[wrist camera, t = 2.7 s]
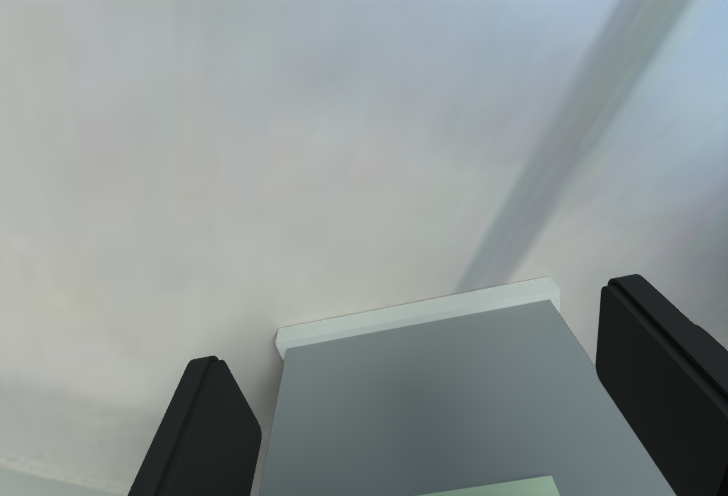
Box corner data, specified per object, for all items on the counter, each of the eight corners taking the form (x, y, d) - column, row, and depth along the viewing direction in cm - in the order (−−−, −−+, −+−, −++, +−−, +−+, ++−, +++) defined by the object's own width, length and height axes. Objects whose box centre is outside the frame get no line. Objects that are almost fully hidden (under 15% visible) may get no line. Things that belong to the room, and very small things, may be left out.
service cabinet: (550, 276, 22) (899, 751, 8) (550, 357, 25) (803, 806, 11) (278, 328, 23) (166, 812, 9) (309, 399, 26) (259, 847, 12)
